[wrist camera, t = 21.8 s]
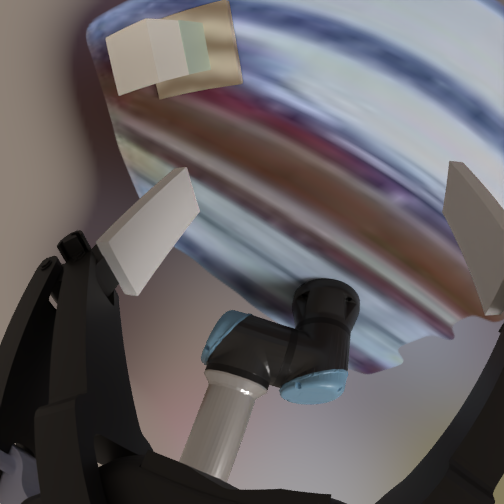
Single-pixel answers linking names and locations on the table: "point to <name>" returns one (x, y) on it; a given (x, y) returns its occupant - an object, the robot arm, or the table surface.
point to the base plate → (209, 51)
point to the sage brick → (194, 46)
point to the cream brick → (146, 54)
